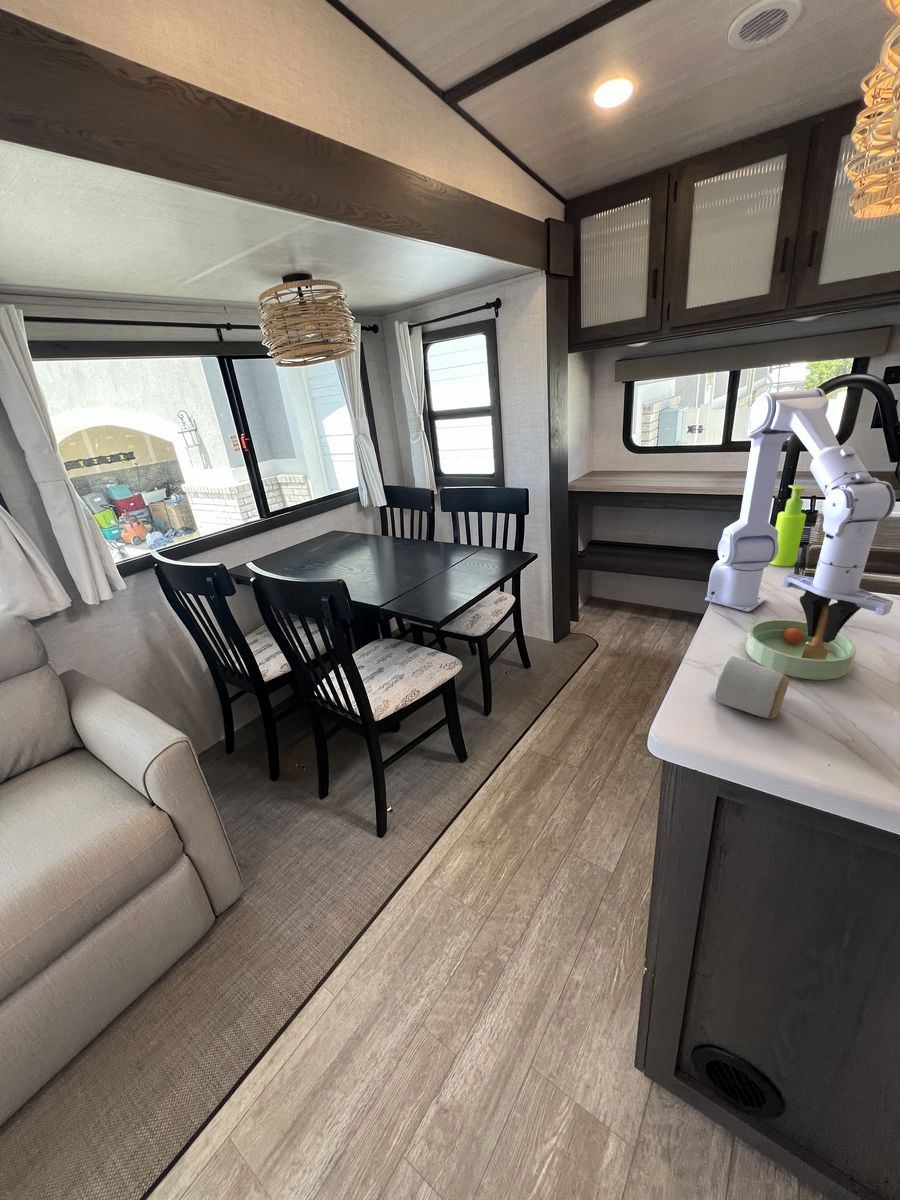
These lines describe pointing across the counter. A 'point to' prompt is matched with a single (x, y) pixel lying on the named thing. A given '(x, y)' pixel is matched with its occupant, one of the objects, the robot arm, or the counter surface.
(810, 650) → the brown handled stamp
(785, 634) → the ball
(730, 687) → the ceramic mug
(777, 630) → the bowl
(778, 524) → the soap dispenser
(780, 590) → the counter surface
